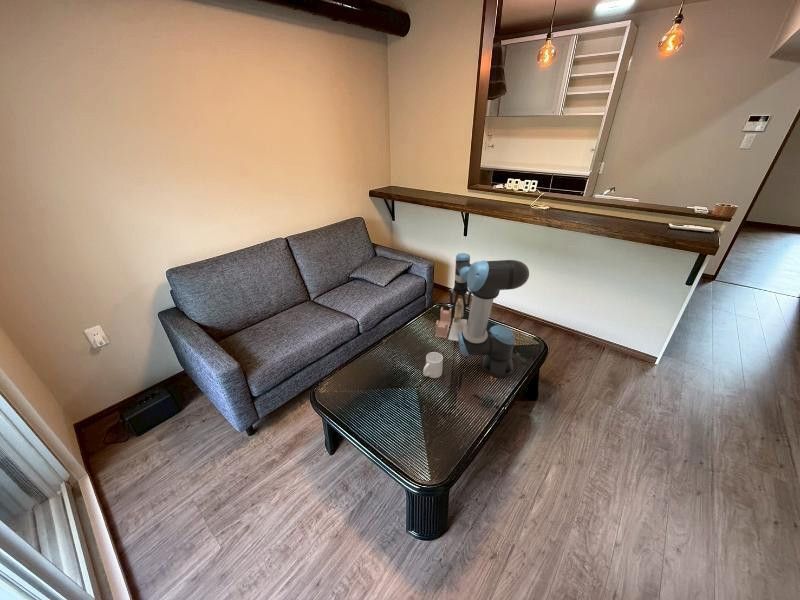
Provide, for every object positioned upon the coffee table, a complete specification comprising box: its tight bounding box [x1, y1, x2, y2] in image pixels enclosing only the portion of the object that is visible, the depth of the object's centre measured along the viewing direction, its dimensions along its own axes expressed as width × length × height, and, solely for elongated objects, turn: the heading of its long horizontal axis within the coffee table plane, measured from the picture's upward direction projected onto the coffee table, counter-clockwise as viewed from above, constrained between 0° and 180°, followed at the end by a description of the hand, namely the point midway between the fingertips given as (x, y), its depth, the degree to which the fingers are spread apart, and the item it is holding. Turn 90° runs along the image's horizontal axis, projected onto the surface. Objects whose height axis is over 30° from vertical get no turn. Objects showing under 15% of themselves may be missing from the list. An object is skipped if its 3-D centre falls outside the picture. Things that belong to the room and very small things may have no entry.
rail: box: [453, 298, 463, 323], centre depth 181 cm, size 4×22×4 cm, turn 164°
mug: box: [422, 351, 444, 379], centre depth 151 cm, size 12×8×10 cm
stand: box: [434, 306, 453, 339], centre depth 188 cm, size 7×21×9 cm, turn 164°
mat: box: [447, 317, 468, 342], centre depth 187 cm, size 9×24×1 cm, turn 164°
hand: (459, 315), depth 182 cm, fingers closed on rail, 3 cm apart
